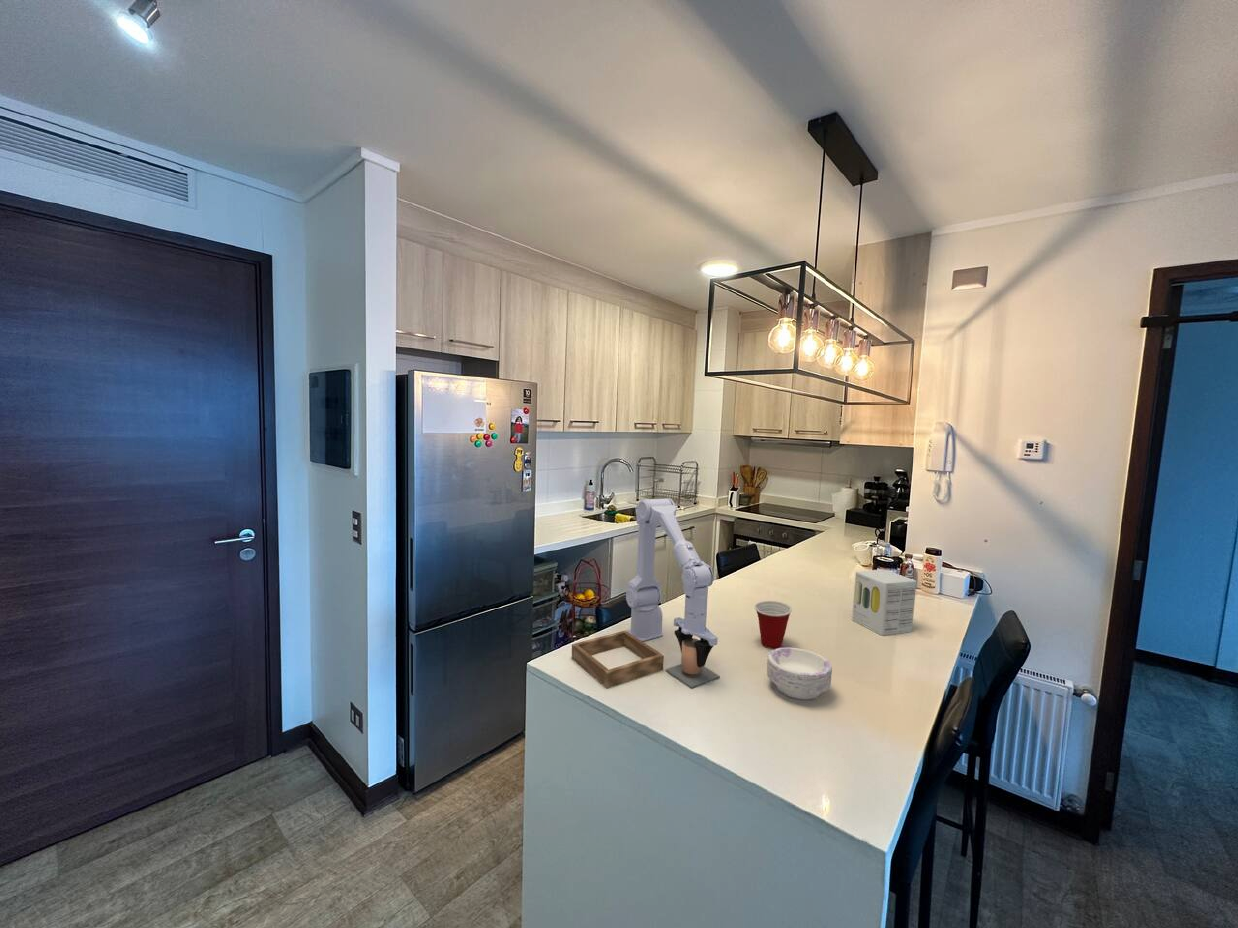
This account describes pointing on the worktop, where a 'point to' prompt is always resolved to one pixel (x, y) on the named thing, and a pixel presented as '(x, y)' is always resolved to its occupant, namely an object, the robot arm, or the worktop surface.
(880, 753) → the worktop surface
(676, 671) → the slate pad
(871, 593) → the supplement box
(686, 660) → the terracotta pot
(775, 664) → the paper bowls
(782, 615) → the plastic cup
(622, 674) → the brown wooden square frame
